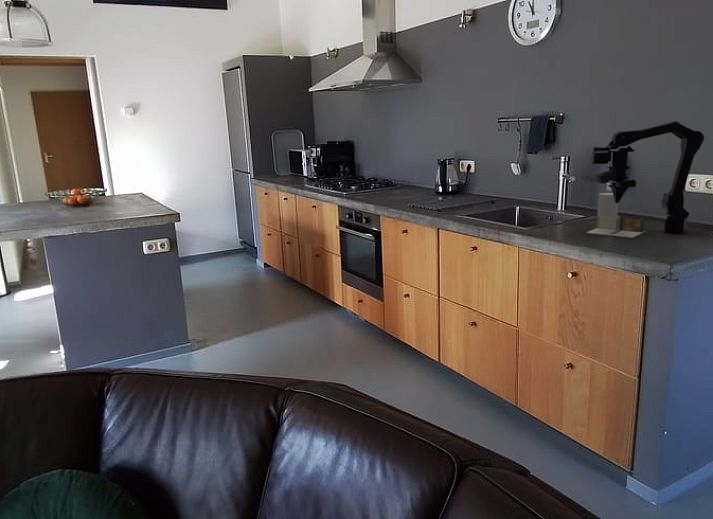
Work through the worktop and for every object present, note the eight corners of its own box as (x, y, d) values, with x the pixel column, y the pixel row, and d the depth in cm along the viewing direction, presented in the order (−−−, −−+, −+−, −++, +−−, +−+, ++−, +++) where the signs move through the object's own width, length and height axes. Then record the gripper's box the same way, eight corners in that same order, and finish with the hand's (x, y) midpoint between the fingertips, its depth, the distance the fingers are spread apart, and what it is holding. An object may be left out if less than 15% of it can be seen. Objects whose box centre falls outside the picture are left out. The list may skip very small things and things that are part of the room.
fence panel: (619, 229, 225) (620, 215, 224) (618, 229, 225) (619, 216, 223) (597, 227, 232) (598, 214, 230) (596, 227, 231) (596, 214, 230)
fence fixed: (643, 232, 219) (644, 218, 218) (642, 233, 218) (643, 218, 217) (619, 230, 225) (620, 216, 224) (618, 230, 225) (619, 216, 223)
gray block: (600, 218, 255) (602, 192, 252) (619, 219, 250) (620, 193, 247) (595, 220, 249) (596, 194, 246) (614, 222, 244) (615, 195, 241)
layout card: (645, 231, 220) (645, 231, 220) (632, 237, 211) (632, 237, 211) (599, 227, 233) (599, 226, 233) (586, 233, 223) (586, 232, 223)
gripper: (589, 163, 225) (587, 200, 229) (608, 166, 207) (605, 207, 211) (617, 161, 225) (614, 199, 229) (638, 165, 207) (635, 205, 211)
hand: (616, 202), depth 220 cm, fingers closed
